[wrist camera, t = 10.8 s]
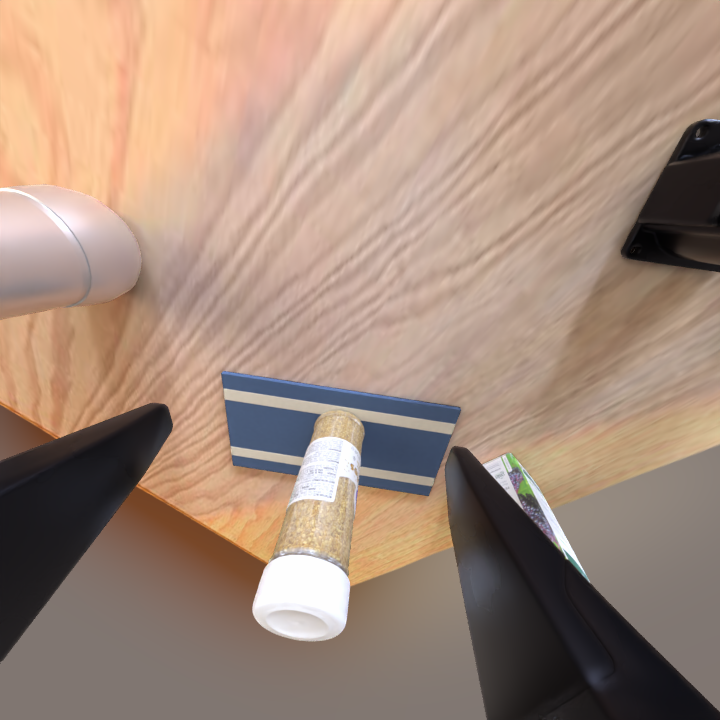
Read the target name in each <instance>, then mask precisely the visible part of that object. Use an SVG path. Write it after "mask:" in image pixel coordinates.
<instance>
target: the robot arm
mask: <svg viewBox="0 0 720 720" xmlns="http://www.w3.org/2000/svg"><path fill="white" fill-rule="evenodd" d="M699 128H700V134H699V136H698V137H696V132H697V130H698V129H699ZM633 247H635V250H634V252H633V253H631V249H632V248H633ZM621 255H622V257H624V258H627V259H633V260H640V261H647V262H654V263H661V264H668V265H674V266H681V267H688V268H695V269H702V270H709V271H716V272H720V120H714V119H704V120H701V121H697V122H695V123H693V124H691V125H690V126H689V127H688V128H687V129H686V131H685V132H684V134H683V136H682V138H681V139H680V141H679V143H678V145H677V147H676V149H675V151H674V152H673V154H672V156H671V158H670V160H669V162H668V164H667V165H666V167H665V168H664V170H663V172H662V174H661V176H660V178H659V179H658V181H657V183H656V185H655V187H654V189H653V191H652V192H651V194H650V196H649V198H648V200H647V202H646V204H645V206H644V207H643V209H642V211H641V213H640V215H639V217H638V219H637V221H636V223H635V225H634V227H633V229H632V231H631V233H630V234H629V236H628V238H627V240H626V242H625V244H624V246H623V247H622V250H621ZM172 428H173V423H172V419H171V416H170V412H169V409H168V407H167V406H166V405H165V404H159V403H150V404H147V405H145V406H142V407H139V408H137V409H134V410H131V411H129V412H126V413H124V414H121V415H118V416H116V417H113V418H111V419H108V420H105V421H103V422H100V423H98V424H95V425H92V426H90V427H87V428H85V429H82V430H79V431H77V432H74V433H71V434H69V435H66V436H64V437H61V438H58V439H56V440H53V441H51V442H48V443H45V444H43V445H40V446H38V447H35V448H32V449H30V450H27V451H25V452H22V453H19V454H17V455H14V456H12V457H9V458H6V459H4V460H1V461H0V662H1V661H3V660H4V658H5V657H6V656H7V654H8V653H9V652H10V650H11V649H12V648H13V646H14V645H15V644H16V643H17V641H18V640H19V639H20V637H21V636H22V635H23V633H24V632H25V631H26V629H27V628H28V626H29V625H30V624H31V623H32V622H33V620H34V619H35V617H36V616H37V615H38V614H39V612H40V611H41V610H42V608H43V607H44V606H45V604H46V603H47V602H48V601H49V599H50V598H51V597H52V595H53V594H54V593H55V591H56V590H57V589H58V587H59V586H60V585H61V583H62V582H63V581H64V580H65V578H66V577H67V576H68V574H69V573H70V572H71V570H72V569H73V568H74V566H75V565H76V564H77V562H78V561H79V560H80V558H81V557H82V556H83V555H84V553H85V552H86V551H87V549H88V548H89V547H90V545H91V544H92V543H93V542H94V540H95V539H96V537H97V536H98V535H99V534H100V532H101V531H102V530H103V528H104V527H105V526H106V524H107V523H108V522H109V521H110V519H111V518H112V517H113V515H114V514H115V513H116V511H117V510H118V509H119V507H120V506H121V505H122V503H123V502H124V501H125V500H126V498H127V497H128V496H129V494H130V493H131V492H132V490H133V489H134V488H135V486H136V485H137V484H138V482H139V481H140V480H141V478H142V477H143V476H144V474H145V473H146V471H147V470H148V468H149V466H150V465H151V463H152V462H153V460H154V458H155V457H156V455H157V454H158V452H159V450H160V449H161V447H162V446H163V444H164V442H165V441H166V439H167V438H168V436H169V434H170V433H171V431H172ZM445 480H446V492H447V504H448V516H449V524H450V530H451V536H452V541H453V546H454V551H455V556H456V562H457V567H458V572H459V577H460V582H461V588H462V593H463V598H464V603H465V608H466V613H467V619H468V624H469V629H470V634H471V639H472V645H473V650H474V655H475V660H476V665H477V671H478V675H479V681H480V687H481V692H482V697H483V702H484V707H485V712H486V718H487V720H720V712H719V711H718V710H717V709H716V708H715V707H714V706H713V705H712V704H711V703H710V702H709V701H708V700H707V699H705V697H704V696H702V694H701V693H700V692H699V691H698V690H697V689H696V688H695V687H694V686H693V685H691V683H689V682H688V681H687V680H686V679H685V678H684V677H683V676H682V675H681V674H680V673H679V672H678V671H677V670H676V669H675V668H674V667H673V666H672V665H671V664H670V663H669V662H668V661H667V660H666V659H665V658H664V657H663V656H662V655H661V654H660V653H659V652H658V651H657V650H656V649H655V648H654V647H653V646H652V645H651V644H650V643H649V642H648V641H647V640H646V639H645V638H644V637H643V636H642V635H640V633H638V632H637V630H636V629H635V628H634V627H633V626H632V625H631V624H629V622H627V620H626V619H624V617H623V616H622V615H621V614H620V613H619V612H618V611H617V610H616V609H615V608H614V607H613V606H612V605H611V604H610V603H609V602H608V601H607V600H606V599H605V598H604V597H603V596H602V595H601V594H600V593H599V592H598V591H597V590H596V589H595V588H594V587H593V585H592V584H591V583H590V582H589V581H588V580H587V579H586V578H585V577H584V576H583V575H582V574H581V573H580V571H579V570H578V569H577V568H576V567H575V566H574V565H573V564H572V563H571V562H570V561H569V560H568V559H565V555H564V554H563V553H562V552H561V551H560V550H559V549H558V548H557V546H556V545H555V544H554V543H553V542H552V541H551V540H550V539H549V538H548V537H547V535H546V534H545V533H544V532H543V531H542V530H541V529H540V528H539V527H538V526H537V524H536V523H535V522H534V521H533V520H532V519H531V518H530V517H529V516H528V515H527V513H526V512H525V511H524V510H523V509H522V508H521V507H520V506H519V505H518V504H517V503H516V501H515V500H514V499H513V498H512V497H511V496H510V495H509V494H508V493H507V492H506V490H505V489H504V488H503V487H502V486H501V485H500V484H499V483H498V482H497V481H496V479H495V478H494V477H493V476H492V475H491V474H490V473H489V472H488V471H487V470H486V468H485V467H484V466H483V465H482V464H481V463H480V462H479V461H478V460H477V459H476V458H475V456H474V455H473V454H472V453H471V452H470V451H469V450H468V449H467V448H464V447H458V446H454V447H452V448H451V451H450V454H449V456H448V459H447V462H446V465H445Z"/></svg>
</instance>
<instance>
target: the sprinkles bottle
mask: <svg viewBox="0 0 720 720" xmlns="http://www.w3.org/2000/svg"><path fill="white" fill-rule="evenodd" d="M364 435H365V431H364V426H363V425H362V423H361V421H360V420H359V419H358V418H357V417H356V416H355V415H353V414H351V413H349V412H346V411H342V410H335V411H328V412H325V413H323V414H321V415H320V416H319V417H318V419H317V420H316V422H315V424H314V433H313V435H312V438H311V441H310V445H309V446H308V448H307V450H306V453H305V456H304V459H303V462H302V465H301V468H300V471H299V474H298V477H297V480H296V483H295V486H294V489H293V492H292V495H291V498H290V500H289V503H288V506H287V509H286V515H285V519H284V522H283V525H282V528H281V532H280V534H279V538H278V541H277V543H276V546H275V549H274V553H273V556H272V557H271V558H270V560H269V563H268V565H267V566H266V567H265V569H264V572H263V575H262V577H261V581H260V583H259V586H258V590H257V593H256V596H255V599H254V603H253V615H254V617H255V619H256V620H257V622H258V623H259V624H260V625H262V626H263V627H264V628H265V629H267V630H269V631H271V632H273V633H275V634H277V635H280V636H283V637H286V638H290V639H295V640H301V641H321V640H327V639H331V638H333V637H335V636H337V635H338V634H340V633H341V632H342V631H343V629H344V628H345V625H346V620H347V612H348V603H349V592H350V582H349V579H348V575H349V571H348V566H349V557H350V549H351V540H352V529H353V521H354V518H355V510H356V501H357V492H358V483H359V474H360V465H361V450H362V442H363V439H364Z"/></svg>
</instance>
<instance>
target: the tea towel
mask: <svg viewBox="0 0 720 720" xmlns="http://www.w3.org/2000/svg"><path fill="white" fill-rule="evenodd" d="M221 375H222V383H223V391H224V399H225V406H226V414H227V422H228V429H229V437H230V445H231V454H232V461H233V465H234V466H241V467H247V468H254V469H260V470H266V471H273V472H279V473H285V474H292V475H298V474H299V471H300V468H301V465H302V462H303V459H304V456H305V453H306V450H307V448H308V446H309V445H310V441H311V438H312V435H313V433H314V424H315V422H316V420H317V419H318V417H319V416H320V415H321V414H323V413H325V412H328V411H335V410H342V411H346V412H349V413H351V414H353V415H355V416H356V417H357V418H358V419H359V420H360V421H361V423H362V425H363V426H364V431H365V435H364V439H363V442H362V450H361V465H360V474H359V483H358V485H361V486H368V487H374V488H380V489H387V490H393V491H400V492H406V493H412V494H419V495H425V496H429V493H430V491H431V488H432V486H433V483H434V480H435V478H436V475H437V472H438V470H439V467H440V464H441V462H442V459H443V456H444V454H445V451H446V448H447V446H448V443H449V441H450V438H451V435H452V433H453V430H454V428H455V425H456V422H457V419H458V417H459V414H460V411H461V409H460V407H454V406H448V405H441V404H435V403H428V402H422V401H415V400H409V399H402V398H396V397H389V396H382V395H376V394H369V393H363V392H356V391H350V390H343V389H337V388H330V387H324V386H317V385H311V384H304V383H298V382H291V381H285V380H278V379H272V378H265V377H258V376H252V375H245V374H239V373H232V372H226V371H223V372H222V373H221Z"/></svg>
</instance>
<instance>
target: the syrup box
mask: <svg viewBox="0 0 720 720" xmlns="http://www.w3.org/2000/svg"><path fill="white" fill-rule="evenodd" d="M483 466H484V467H485V468H486V470H487V471H488V472H489V473H490V474H491V475H492V476H493V477H494V478H495V479H496V481H497V482H498V483H499V484H500V485H501V486H502V487H503V488H504V489H505V490H506V492H507V493H508V494H509V495H510V496H511V497H512V498H513V499H514V500H515V501H516V503H517V504H518V505H519V506H520V507H521V508H522V509H523V510H524V511H525V512H526V513H527V515H528V516H529V517H530V518H531V519H532V520H533V521H534V522H535V523H536V524H537V526H538V527H539V528H540V529H541V530H542V531H543V532H544V533H545V534H546V535H547V537H548V538H549V539H550V540H551V541H552V542H553V543H554V544H555V545H556V546H557V548H558V549H559V550H560V551H561V552H562V553H563V554H564V555H565V559H568V560H569V561H570V562H571V563H572V564H573V565H574V566H575V567H576V568H577V569H578V570H579V571H580V573H581V574H582V575H583V576H584V577H585V578H586V579H587V580H588V578H587V576H586V575H585V572H584V571H583V569H582V567H581V565H580V563H579V561H578V559H577V557H576V555H575V553H574V552H573V550H572V548H571V546H570V544H569V542H568V540H567V538H566V537H565V535H564V533H563V531H562V529H561V527H560V525H559V524H558V522H557V520H556V518H555V516H554V515H553V513H552V511H551V509H550V507H549V505H548V503H547V502H546V500H545V498H544V496H543V494H542V492H541V490H540V489H539V487H538V486H537V484H536V483H535V481H534V480H533V479H532V477H531V476H530V475H529V474H528V472H527V471H526V470H525V469H524V468H523V466H522V465H521V464H520V463H519V462H518V460H517V459H516V458H515V457H514V456H513V455H512V453H506V454H504V455H502V456H500V457H498V458H495V459H493V460H491V461H489V462H487V463H485V464H483ZM588 581H589V580H588Z"/></svg>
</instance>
